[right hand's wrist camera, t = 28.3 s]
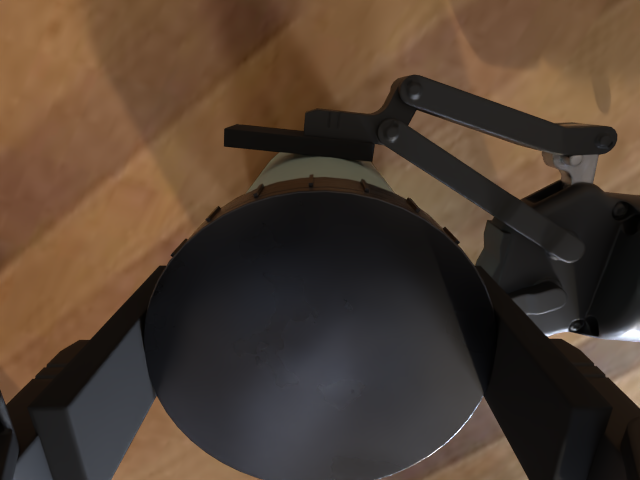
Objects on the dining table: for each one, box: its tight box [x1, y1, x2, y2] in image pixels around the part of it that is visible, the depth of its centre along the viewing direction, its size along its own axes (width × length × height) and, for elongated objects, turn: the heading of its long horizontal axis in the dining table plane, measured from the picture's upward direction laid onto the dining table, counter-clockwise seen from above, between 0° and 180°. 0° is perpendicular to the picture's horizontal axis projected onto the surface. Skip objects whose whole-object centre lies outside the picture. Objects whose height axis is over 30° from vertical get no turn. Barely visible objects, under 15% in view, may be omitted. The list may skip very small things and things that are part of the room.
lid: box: [144, 174, 497, 480], centre depth 11 cm, size 10×10×2 cm
